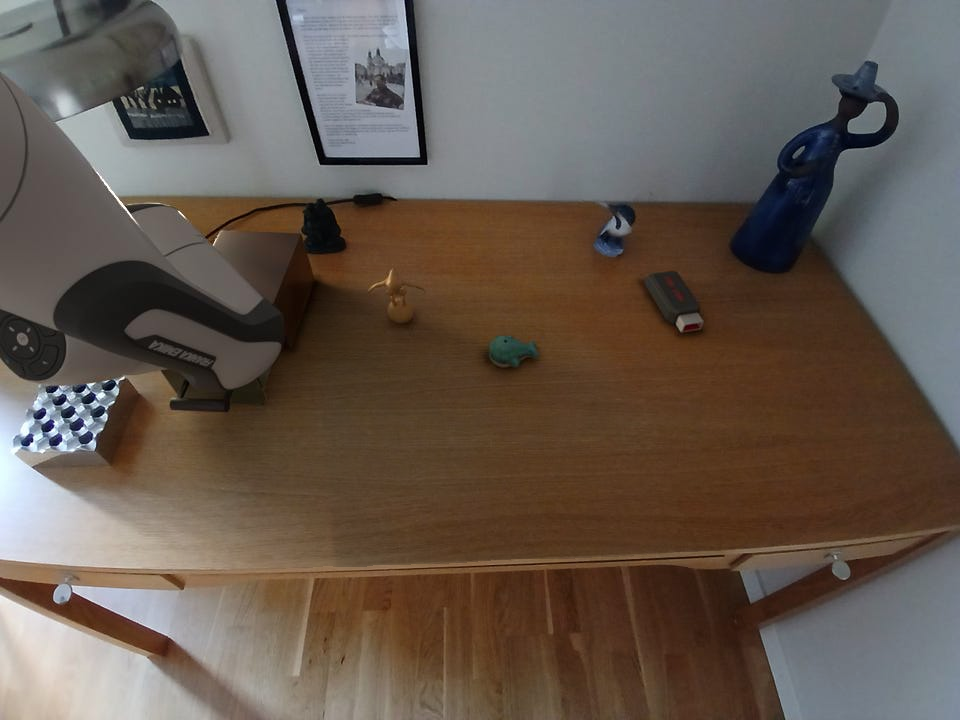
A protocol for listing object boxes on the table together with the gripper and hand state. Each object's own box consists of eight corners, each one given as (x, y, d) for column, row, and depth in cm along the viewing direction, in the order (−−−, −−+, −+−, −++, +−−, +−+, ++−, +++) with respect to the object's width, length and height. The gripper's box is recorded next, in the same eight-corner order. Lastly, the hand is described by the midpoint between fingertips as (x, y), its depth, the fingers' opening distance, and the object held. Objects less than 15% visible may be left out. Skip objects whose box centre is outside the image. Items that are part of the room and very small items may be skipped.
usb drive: (672, 278, 95) (676, 266, 93) (705, 329, 87) (711, 317, 85) (643, 283, 94) (647, 270, 92) (674, 334, 87) (680, 322, 84)
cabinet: (290, 349, 84) (273, 303, 76) (208, 346, 84) (182, 300, 77) (314, 279, 94) (301, 233, 86) (240, 276, 94) (221, 230, 87)
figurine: (428, 309, 89) (423, 251, 80) (428, 337, 86) (422, 279, 76) (376, 311, 89) (365, 252, 80) (373, 339, 85) (361, 280, 76)
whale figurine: (486, 343, 85) (487, 326, 82) (534, 341, 85) (536, 324, 82) (490, 373, 81) (491, 357, 78) (540, 370, 82) (542, 353, 79)
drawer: (254, 432, 73) (235, 398, 67) (169, 429, 74) (142, 394, 68) (291, 327, 85) (277, 290, 79) (218, 324, 86) (198, 287, 80)
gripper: (245, 304, 58) (292, 304, 72) (53, 297, 59) (136, 299, 73) (245, 363, 59) (291, 353, 73) (55, 356, 59) (137, 347, 73)
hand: (213, 326), depth 73 cm, fingers closed on pill bottle, 7 cm apart
